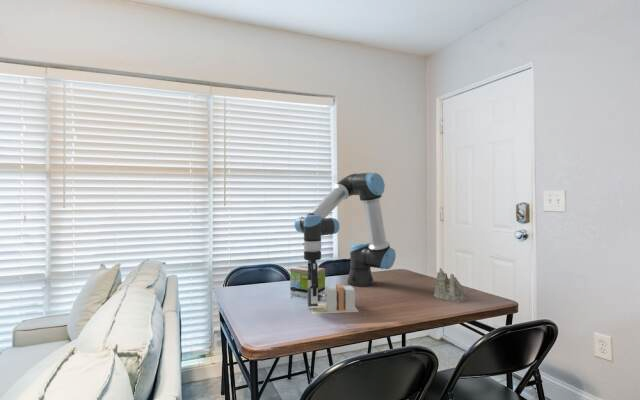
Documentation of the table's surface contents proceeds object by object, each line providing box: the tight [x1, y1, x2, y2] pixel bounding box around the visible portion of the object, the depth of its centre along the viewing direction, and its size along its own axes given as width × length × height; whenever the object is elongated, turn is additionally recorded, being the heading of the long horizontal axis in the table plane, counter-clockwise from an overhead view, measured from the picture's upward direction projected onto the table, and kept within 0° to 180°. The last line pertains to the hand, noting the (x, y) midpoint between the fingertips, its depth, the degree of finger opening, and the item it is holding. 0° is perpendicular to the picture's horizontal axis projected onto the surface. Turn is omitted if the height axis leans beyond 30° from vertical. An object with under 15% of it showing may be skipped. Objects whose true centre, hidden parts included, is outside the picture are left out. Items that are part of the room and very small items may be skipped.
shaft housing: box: [309, 285, 359, 315], centre depth 156 cm, size 20×14×10 cm
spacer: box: [335, 283, 344, 310], centre depth 157 cm, size 2×8×10 cm, turn 7°
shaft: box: [307, 288, 345, 308], centre depth 156 cm, size 18×4×7 cm, turn 97°
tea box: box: [289, 265, 326, 298], centre depth 178 cm, size 15×10×15 cm, turn 62°
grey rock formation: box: [433, 268, 466, 303], centre depth 179 cm, size 16×16×15 cm
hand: (312, 298), depth 155 cm, fingers open, 13 cm apart
